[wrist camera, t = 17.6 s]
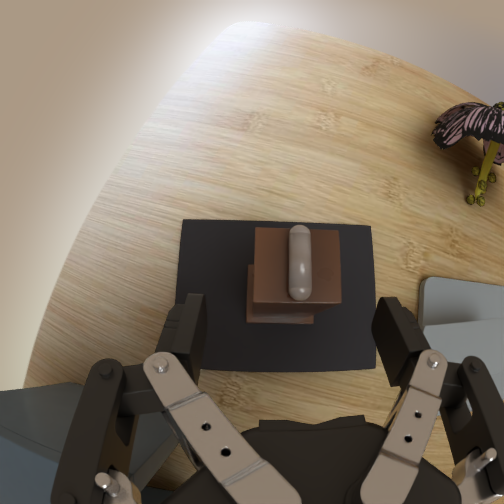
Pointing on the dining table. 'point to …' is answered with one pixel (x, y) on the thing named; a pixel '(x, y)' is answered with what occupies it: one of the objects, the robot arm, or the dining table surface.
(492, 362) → the shower valve
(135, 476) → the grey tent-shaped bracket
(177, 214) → the dining table surface
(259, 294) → the coat peg
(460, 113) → the decorative flower
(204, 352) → the mat
